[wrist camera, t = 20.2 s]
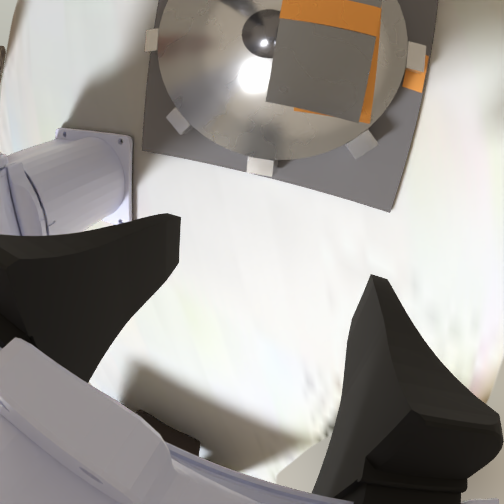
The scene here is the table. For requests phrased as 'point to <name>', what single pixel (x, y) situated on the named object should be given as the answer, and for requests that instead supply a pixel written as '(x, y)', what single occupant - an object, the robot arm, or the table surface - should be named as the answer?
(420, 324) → the table surface
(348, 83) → the orange striped gray block
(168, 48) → the sprocket
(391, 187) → the base plate
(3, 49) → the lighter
